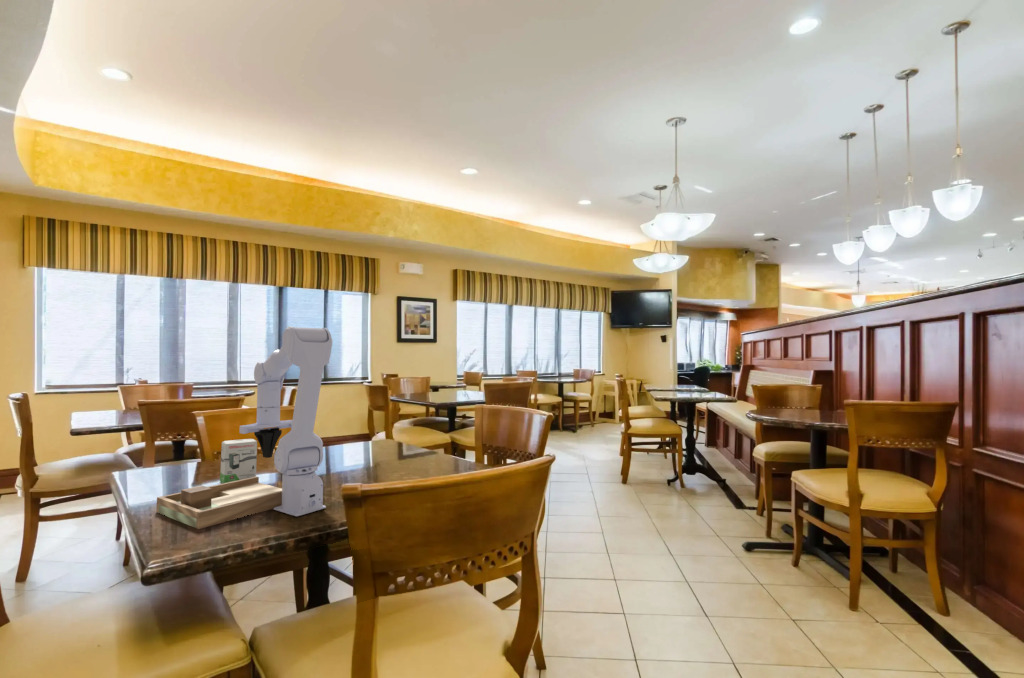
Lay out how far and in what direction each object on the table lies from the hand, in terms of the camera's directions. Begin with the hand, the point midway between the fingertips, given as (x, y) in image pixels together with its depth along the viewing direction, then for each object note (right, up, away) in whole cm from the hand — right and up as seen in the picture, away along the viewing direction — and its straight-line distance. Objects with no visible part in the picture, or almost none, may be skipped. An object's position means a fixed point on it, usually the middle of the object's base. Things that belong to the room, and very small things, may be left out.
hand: (267, 457), depth 133 cm
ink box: (-14, -10, +11) cm, 21 cm away
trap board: (-2, -9, -13) cm, 16 cm away
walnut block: (-7, -7, -20) cm, 22 cm away
